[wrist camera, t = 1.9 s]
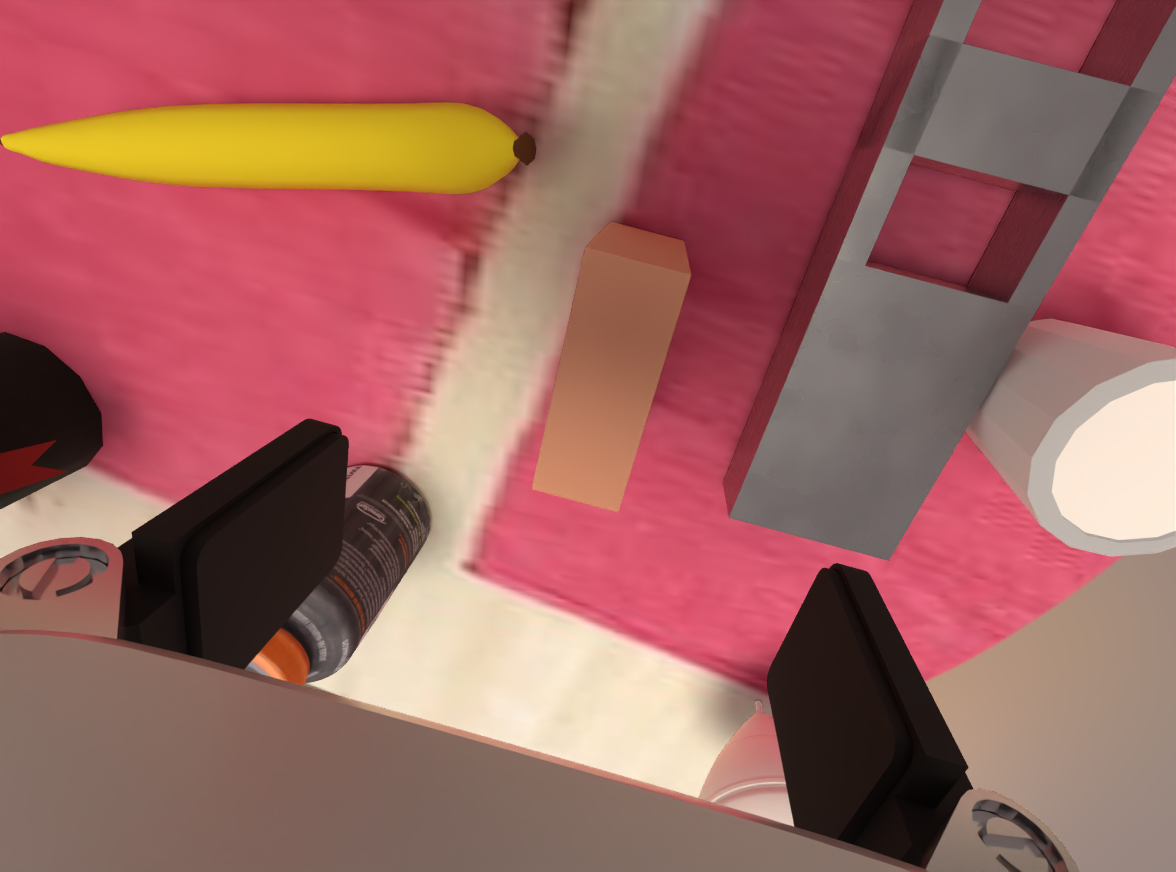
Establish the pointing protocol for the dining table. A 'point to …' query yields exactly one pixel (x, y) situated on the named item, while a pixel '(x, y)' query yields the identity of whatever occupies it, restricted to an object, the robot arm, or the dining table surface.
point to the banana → (289, 146)
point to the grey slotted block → (924, 304)
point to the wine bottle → (41, 419)
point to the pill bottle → (351, 579)
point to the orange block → (611, 363)
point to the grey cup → (1087, 436)
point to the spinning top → (751, 772)
